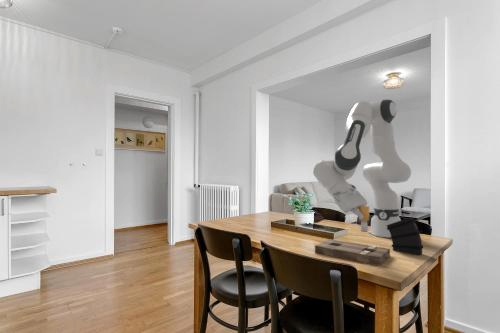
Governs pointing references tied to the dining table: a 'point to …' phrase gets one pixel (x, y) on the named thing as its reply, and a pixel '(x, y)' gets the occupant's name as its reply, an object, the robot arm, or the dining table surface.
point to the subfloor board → (353, 251)
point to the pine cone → (318, 217)
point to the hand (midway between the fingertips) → (365, 216)
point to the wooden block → (364, 221)
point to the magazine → (406, 236)
